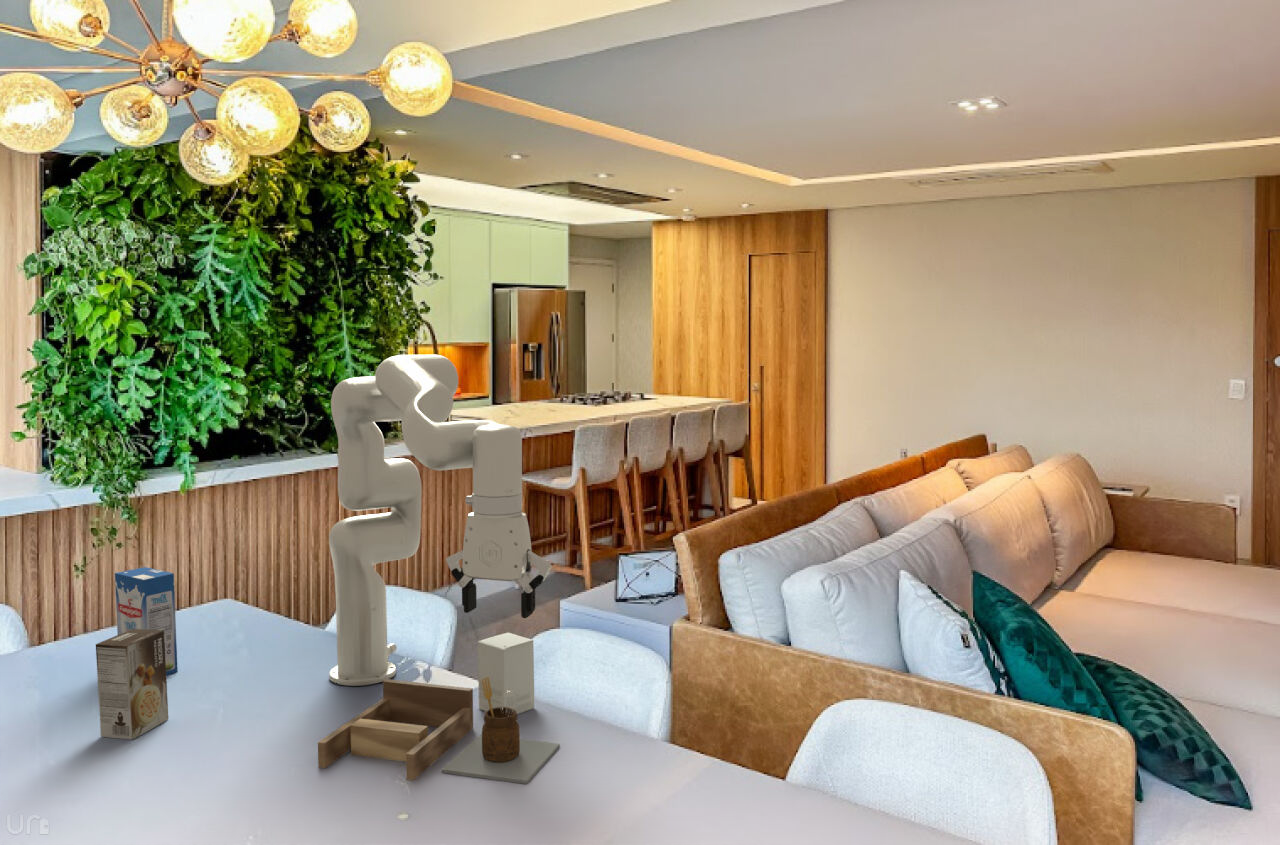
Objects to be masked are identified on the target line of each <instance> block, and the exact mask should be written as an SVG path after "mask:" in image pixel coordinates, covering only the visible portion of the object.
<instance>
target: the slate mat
mask: <svg viewBox="0 0 1280 845" xmlns="http://www.w3.org/2000/svg"><path fill="white" fill-rule="evenodd" d="M560 746H561V745H560V743H555V742H548V741H540V740H531V739H524V738H523V739H522V738H520V750H519V755H518V756H517V757H516V758H515V759H513V760H511V761H507V762H491V761H488V760H486V759H485V758H484V757H483V754H482V733H480V734H479V735H478V736H477V737H476V738H475V739H474V740H472V741H471V742H470V743H469V744H468V745H467V746H466V747H464V749H462V750H461V752H459V753H458V754H457V755H456V756H455V757H454V758H453V759H451V760H450V761H449V762H448V763H447V764H446V765H445V766H443V767H442V768H441V773H443V774H450V775H456V776H457V775H459V776H465V777H473V778H478V779H479V778H481V779H488V780H496V781H502V782H510V783H519V784H524V785H525V784H526V785H527V784H528V783H529V782H530V781H531V780H532V779H533V777H534V776H535V775H537V773H538V772H539V771H540V770H541V769H542V767H543V766H544V765H545V764H546V763H547V761H549V760H550V758H551V757H552V756H553V755H554V754H555V753H556V751H557V750H559V748H560Z"/></svg>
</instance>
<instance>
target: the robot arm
mask: <svg viewBox="0 0 1280 845" xmlns="http://www.w3.org/2000/svg"><path fill="white" fill-rule="evenodd" d="M458 387H459V374H458V371H457V368H456V365H454V363H453V361H451V360H450V359H449V358H447V357H446V356H443V355H439V354H402V355H399V354H398V355H393V356H390V357H388V358H386V359H384V360H383V361H382V362H381V363H380V364H379V365H378V366H377V368H376V370H375V374H374V376H359V377H358V376H357V377H351V378H346V379H343V380H341V381H340V382H338V383H337V385H336V386H335V387H334V389H333V391H332V394H331V400H330V407H331V408H330V409H331V415H332V420H333V424H334V426H335V430H336V435H337V440H338V441H337V443H338V448H337V449H338V450H337V451H338V452H337V491H338V492H337V494H338V499H339V503H340V504H341V506H342V507H343V508H344V509H346V510H349V511H354V512H355V511H356V512H357V511H358V512H359V511H369V510H380V509H389V508H390V510H391V511H390V512H384V513H375V514H374V513H373V514H365V515H364V514H363V515H358V516H357V515H356V516H351V517H346V518H344V519H341V520H338V522H336V523H335V524H334V525H333V526H332V528H330V530H329V533H328V534H329V535H328V543H329V544H328V545H329V550H330V555H331V559H332V560H331V561H332V565H333V574H334V586H335V587H334V589H335V615H336V616H335V617H336V622H335V624H336V651H337V652H336V653H337V654H336V656H337V657H336V658H337V665H336V666H334V667H333V668H331V670H330V671H329V680H330V681H331V682H333V683H335V684H336V683H337V685H342V686H348V687H349V686H351V687H357V686H358V687H361V686H362V687H363V686H370V685H375V684H379V683H383V681H384V680H386V679H390V680H391V679H392V678H393V677H394V676H395V675H396V674H397V673H396V672H397V666H396V665H395V664H394V663H393V662H390V661H389V657H390V655H392V654H393V653H395V652H396V651H397V649H398V648H397V645H396V644H395V643H392V642H391V643H389V644H388V621H387V620H388V614H387V611H388V610H387V609H388V606H387V587H386V584H385V581H384V579H383V578H382V576H381V575H380V574H379V573H378V572H377V571H376V569H375V567H374V565H376V564H380V563H386V562H392V561H393V562H394V561H400V560H404V559H407V558H411V557H413V556H414V555H415V554H416V553H417V552H418V549H419V546H420V542H421V531H422V530H421V529H422V528H421V526H422V491H423V490H422V481H421V476H420V472H419V469H418V467H417V466H416V465H415V464H414V462H412V461H411V460H409V459H406V458H401V457H399V458H386V459H385V438H384V435H383V432H382V431H381V429H380V428H379V426H378V425H377V424H376V423H378V422H379V423H380V422H400V421H401V434H402V438H403V439H402V440H403V442H404V444H405V445H404V446H405V447H406V449H407V450H408V452H410V453H411V455H412V456H413V458H415V459H416V460H417V461H418V462H419V463H421V464H422V465H423V466H425V467H426V468H429V469H430V470H435V471H448V470H449V471H450V470H459V469H460V470H461V469H470V468H471V469H472V493H471V495H467V496H466V497H465V504H466V505H467V506H468V505H470V506H471V510H472V511H473V512H470V513H468V515H467V518H466V523H465V527H464V535H463V536H464V537H463V544H462V545H463V546H462V549H461V550H459V551H458V552H455V553H453V554H451V555H448V556H447V557H446V559H445V561H446V565H447V566H448V568H449V570H450V571H451V572H450V573H451V575H452V577H453V578H454V579H455V580H456V581H457V583H458V586H459V588H461V605H462V606H463V612H464V614H469V613H470V612H472V611H474V610H475V609H476V608H477V584H476V583H475V582H474V581H475V579H477V580H490V581H501V582H502V581H503V582H516V581H517V583H518V584H519V585H520V586H521V588H522V589H523V591H522V593H521V594H520V596H521V598H520V601H521V602H520V607H521V608H520V610H521V612H520V616H521V618H522V619H527V618H528V617H530V616H531V615H533V613H534V612H535V610H536V589H538V588H539V586H540V585H542V584H543V583H544V582H545V581H546V579H547V576H548V575H549V573H550V571H551V569H552V567H553V566H552V564H551V562H549V561H547V560H546V559H544V558H542V557H541V556H539V555H538V554H536V553H534V552H533V551H532V541H531V534H530V526H529V522H528V518H527V513H525V512H523V437H522V436H523V435H522V432H521V430H520V429H519V428H518V427H516V426H514V425H509V424H508V425H507V424H500V423H498V422H496V421H495V420H490V419H480V420H479V419H478V420H477V419H475V420H457V421H455V420H454V421H447V419H448V418H449V416H450V415H451V414H452V412H453V408H454V398H453V397H454V396H455V395H456V392H457V391H458ZM460 560H462V564H461V565H462V566H460ZM532 566H535V567H536V568H537V569H538V571H537V572H538V573H537V575H536V576H535V577H534V576H533V575H532V573H531V571H532V568H533V567H532Z"/></svg>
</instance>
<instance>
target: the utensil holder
mask: <svg viewBox="0 0 1280 845" xmlns="http://www.w3.org/2000/svg"><path fill="white" fill-rule="evenodd" d="M484 681H485V685H484ZM484 681H483V679H482V686H483V691H484V697H485V698H486V699H488V702H489V707H490V709H489V710H487V711H484V712H485V713H484V714H483V722H484V723H483V725H482V728H481V734H482V754H483V757H484V758H485V759H486V760H488V761H491V762H507V761H511V760H513V759H515V758H516V757H517V756H518V755H519V750H520V739H521V738H520V736H521V735H520V734H521V732H520V731H521V730H520V725H519V722H518V721H517V720H518V714H517V712H516V711H515V710H514V709H512V708H508V707H509V705H508V707H501V703H500V707H496V708H492V705H491V700H490V699H491V697H492V691H491V686H490V682H489V677H487V681H486V678H484ZM487 682H488V686H487ZM485 687H486V690H485ZM488 688H489V690H488ZM507 691H508V690H507ZM507 691H506V692H507ZM509 691H510V690H509ZM510 692H511V693H512V691H510ZM504 693H505V692H504ZM504 693H503V695H504ZM508 694H509V692H508ZM512 694H513V697H514V694H515V693H514V692H513V693H512ZM505 696H506V695H505ZM501 699H502V697H501ZM509 700H510V698H509ZM502 701H503V699H502ZM507 701H508V699H507ZM515 703H516V701H515ZM503 704H504V702H503ZM512 704H513V702H512ZM511 707H512V706H511ZM513 707H514V705H513ZM514 708H515V707H514Z"/></svg>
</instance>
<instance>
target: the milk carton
mask: <svg viewBox="0 0 1280 845" xmlns="http://www.w3.org/2000/svg"><path fill="white" fill-rule="evenodd" d="M114 583H115V584H114V585H115V586H114V587H115V605H116V606H115V607H116V609H115V610H116V629H117V631H116V632H117V635H119V634H122V633H124V632H127V631H129V630H131V629H146V630H164V643H165V661H166V677H167V676H169V675H173V674H176V673H178V672H179V671H178V648H177V646H178V645H177V644H178V643H177V625H176V624H177V622H176V621H177V620H176V600H175V598H176V596H175V574H174V573H173V572H168V571H165V570H160V569H156V568H151V567H146V566H144V567H138V568H135V569H130V570H129V569H128V570H125V571H120V572H114Z"/></svg>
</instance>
